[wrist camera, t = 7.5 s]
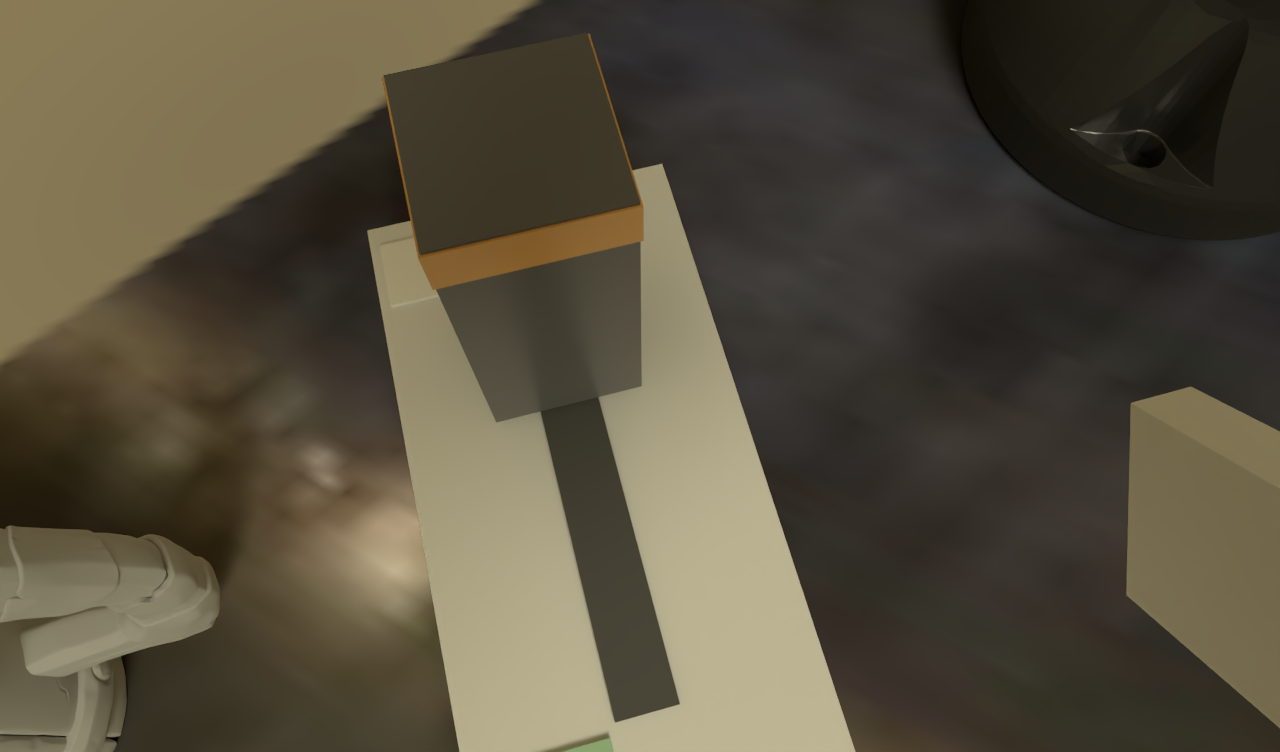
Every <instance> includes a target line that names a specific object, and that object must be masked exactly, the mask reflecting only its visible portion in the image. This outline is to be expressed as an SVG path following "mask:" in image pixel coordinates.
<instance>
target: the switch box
mask: <svg viewBox="0 0 1280 752" xmlns="http://www.w3.org/2000/svg"><path fill="white" fill-rule="evenodd" d="M632 171H633V174H634V177H635V181H636V184H637V187H638V190H639V193H640V197H641V200H642V203H643V206H644V241H641V366H642V386H641V387H637V388H633V389H629V390H625V391H621V392H617V393H613V394H609V395H605V396H601V397H597V398H593V399H588V400H584V401H580V402H576V403H572V404H568V405H564V406H560V407H556V408H552V409H548V410H544V411H540V412H536V413H532V414H528V415H524V416H520V417H516V418H512V419H508V420H504V421H500V422H496V421H495V419H494V416H493V414H492V412H491V410H490V407H489V405H488V403H487V401H486V399H485V396H484V394H483V392H482V390H481V388H480V385H479V383H478V381H477V379H476V377H475V374H474V372H473V370H472V368H471V366H470V363H469V361H468V359H467V357H466V355H465V352H464V350H463V348H462V346H461V344H460V341H459V339H458V337H457V335H456V333H455V330H454V328H453V326H452V324H451V322H450V319H449V317H448V315H447V313H446V311H445V308H444V306H443V304H442V302H441V300H440V297H439V295H438V293H437V291H436V290H432V288H431V285H430V283H429V281H428V279H427V277H426V275H425V272H424V270H423V268H422V266H421V264H420V262H419V259H418V256H417V251H416V246H415V241H414V236H413V231H412V225H411V221H407V222H403V223H398V224H394V225H390V226H385V227H381V228H376V229H372V230H368V231H367V232H368V238H369V244H370V249H371V255H372V261H373V266H374V272H375V277H376V283H377V289H378V294H379V300H380V306H381V311H382V317H383V323H384V328H385V334H386V339H387V345H388V351H389V356H390V362H391V368H392V373H393V379H394V385H395V390H396V396H397V402H398V407H399V413H400V418H401V424H402V430H403V435H404V441H405V447H406V452H407V458H408V464H409V469H410V475H411V481H412V486H413V492H414V497H415V503H416V509H417V514H418V520H419V526H420V531H421V537H422V543H423V548H424V554H425V560H426V565H427V571H428V576H429V582H430V588H431V593H432V599H433V605H434V610H435V616H436V622H437V627H438V633H439V638H440V644H441V650H442V655H443V661H444V667H445V672H446V678H447V684H448V689H449V695H450V701H451V706H452V712H453V717H454V723H455V729H456V734H457V740H458V746H459V751H460V752H855V749H854V746H853V743H852V740H851V737H850V734H849V731H848V728H847V725H846V722H845V719H844V716H843V713H842V710H841V707H840V704H839V701H838V698H837V694H836V691H835V688H834V685H833V682H832V679H831V676H830V673H829V670H828V667H827V664H826V661H825V658H824V655H823V652H822V649H821V646H820V643H819V640H818V637H817V634H816V631H815V628H814V624H813V621H812V618H811V615H810V612H809V609H808V606H807V603H806V600H805V597H804V594H803V591H802V588H801V585H800V582H799V579H798V576H797V573H796V570H795V567H794V564H793V561H792V557H791V554H790V551H789V548H788V545H787V542H786V539H785V536H784V533H783V530H782V527H781V524H780V521H779V518H778V515H777V512H776V509H775V506H774V503H773V500H772V497H771V494H770V491H769V487H768V484H767V481H766V478H765V475H764V472H763V469H762V466H761V463H760V460H759V457H758V454H757V451H756V448H755V445H754V442H753V439H752V436H751V433H750V430H749V427H748V424H747V421H746V417H745V414H744V411H743V408H742V405H741V402H740V399H739V396H738V393H737V390H736V387H735V384H734V381H733V378H732V375H731V372H730V369H729V366H728V363H727V360H726V357H725V354H724V350H723V347H722V344H721V341H720V338H719V335H718V332H717V329H716V326H715V323H714V320H713V317H712V314H711V311H710V308H709V305H708V302H707V299H706V296H705V293H704V290H703V287H702V284H701V280H700V277H699V274H698V271H697V268H696V265H695V262H694V259H693V256H692V253H691V250H690V247H689V244H688V241H687V238H686V235H685V232H684V229H683V226H682V223H681V220H680V217H679V214H678V210H677V207H676V204H675V201H674V198H673V195H672V192H671V189H670V186H669V183H668V180H667V177H666V174H665V171H664V168H663V165H662V164H659V165H654V166H650V167H646V168H641V169H637V170H632Z"/></svg>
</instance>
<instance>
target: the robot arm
mask: <svg viewBox="0 0 1280 752" xmlns="http://www.w3.org/2000/svg"><path fill="white" fill-rule="evenodd" d="M961 52H962V61H963V67H964V72H965V76H966V80H967V83H968V86H969V89H970V91H971V94H972V96H973V99H974V101H975V103H976V105H977V107H978V109H979V111H980V113H981V115H982V116H983V118H984V120H985V121H986V123H987V124H988V126H989V127H990V129H991V130H992V132H993V133H994V134H995V136H996V137H997V138H998V140H999V141H1000V142H1001V143H1002V145H1003V146H1004V147H1005V148H1006V149H1007V150H1008V151H1009V153H1010V154H1011V155H1012V156H1013V157H1014V158H1015V159H1016V160H1017V161H1018V162H1019V163H1020V164H1021V165H1022V166H1024V167H1025V168H1026V169H1027V170H1028V171H1029V172H1030V173H1032V174H1033V175H1034V176H1035V177H1036V178H1038V179H1039V180H1040V181H1042V182H1043V183H1044V184H1045V185H1047V186H1048V187H1050V188H1051V189H1053V190H1054V191H1056V192H1057V193H1059V194H1060V195H1062V196H1063V197H1065V198H1067V199H1068V200H1070V201H1072V202H1074V203H1075V204H1077V205H1079V206H1081V207H1083V208H1085V209H1087V210H1089V211H1091V212H1093V213H1095V214H1098V215H1100V216H1102V217H1104V218H1107V219H1109V220H1112V221H1115V222H1117V223H1120V224H1123V225H1126V226H1129V227H1132V228H1135V229H1139V230H1143V231H1147V232H1151V233H1155V234H1159V235H1165V236H1170V237H1177V238H1185V239H1196V240H1233V239H1244V238H1251V237H1258V236H1262V235H1267V234H1272V233H1275V232H1278V231H1280V0H969V1H968V4H967V7H966V10H965V14H964V18H963V24H962V32H961ZM1126 595H1127V596H1128V597H1129V598H1130V599H1132V600H1133V601H1134V602H1135V603H1136V604H1137V605H1138V606H1140V607H1141V608H1142V609H1143V610H1144V611H1145V612H1147V613H1148V614H1149V615H1150V616H1151V617H1152V618H1153V619H1155V620H1156V621H1157V622H1158V623H1159V624H1160V625H1162V626H1163V627H1164V628H1165V629H1166V630H1167V631H1168V632H1170V633H1171V634H1172V635H1173V636H1174V637H1175V638H1177V639H1178V640H1179V641H1180V642H1181V643H1182V644H1183V645H1185V646H1186V647H1187V648H1188V649H1189V650H1190V651H1191V652H1193V653H1194V654H1195V655H1196V656H1197V657H1198V658H1200V659H1201V660H1202V661H1203V662H1204V663H1205V664H1206V665H1208V666H1209V667H1210V668H1211V669H1212V670H1213V671H1215V672H1216V673H1217V674H1218V675H1219V676H1220V677H1221V678H1223V679H1224V680H1225V681H1226V682H1227V683H1228V684H1230V685H1231V686H1232V687H1233V688H1234V689H1235V690H1236V691H1238V692H1239V693H1240V694H1241V695H1242V696H1243V697H1244V698H1246V699H1247V700H1248V701H1249V702H1250V703H1251V704H1253V705H1254V706H1255V707H1256V708H1257V709H1258V710H1259V711H1261V712H1262V713H1263V714H1264V715H1265V716H1266V717H1268V718H1269V719H1270V720H1271V721H1272V722H1273V723H1274V724H1276V725H1277V726H1278V727H1279V728H1280V432H1279V431H1277V430H1275V429H1273V428H1271V427H1269V426H1267V425H1266V424H1264V423H1262V422H1260V421H1258V420H1256V419H1254V418H1252V417H1250V416H1248V415H1246V414H1244V413H1242V412H1240V411H1238V410H1236V409H1234V408H1232V407H1230V406H1228V405H1226V404H1224V403H1222V402H1220V401H1218V400H1216V399H1214V398H1212V397H1210V396H1208V395H1206V394H1204V393H1202V392H1200V391H1199V390H1197V389H1195V388H1193V387H1188V388H1184V389H1181V390H1177V391H1173V392H1170V393H1166V394H1162V395H1159V396H1155V397H1151V398H1148V399H1144V400H1140V401H1137V402H1133V403H1131V421H1130V464H1129V507H1128V550H1127V593H1126Z"/></svg>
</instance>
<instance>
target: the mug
mask: <svg viewBox="0 0 1280 752" xmlns="http://www.w3.org/2000/svg"><path fill="white" fill-rule="evenodd" d="M219 611H220V589H219V584H218V582H217V578H216V575H215V573H214V570H213V568H212V566H211V565H210V563H209V562H208V561H206V560H205V559H204V558H202V557H199V556H194V555H192V554H191V553H190V552H189V551H187V550H185V549H184V548H182V547H181V546H178V545H176V544H175V543H173V542H172V541H170V540H168V539H167V538H165V537H162V536H159V535H154V534H148V535H145V536H142V537H139V538H135V537H132V536H128V535H121V534H113V533H93V532H91V531H89V530H78V529H51V528H32V527H16V526H7V527H6V528H5V529H1V528H0V752H114V749H115V747H116V745H117V743H116V741H114V740H112V739H110V738H107V737H117V736H120V735H121V732H122V728H123V723H124V718H125V712H126V705H127V692H126V675H125V671H124V666H123V662H122V658H121V656H122V655H125V654H129V653H132V652H135V651H138V650H141V649H145V648H149V647H152V646H156V645H161V644H165V643H170V642H174V641H178V640H182V639H184V638H187V637H189V636H192V635H194V634H197V633H199V632H202V631H204V630H206V629H209V628H211V627H212V625H213V624H214V622H215V619H216V618H217V616H218V614H219Z"/></svg>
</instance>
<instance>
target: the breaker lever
mask: <svg viewBox="0 0 1280 752" xmlns="http://www.w3.org/2000/svg"><path fill="white" fill-rule="evenodd" d="M382 80H383V85H384V90H385V95H386V100H387V105H388V110H389V115H390V120H391V125H392V130H393V135H394V140H395V145H396V150H397V155H398V160H399V165H400V170H401V175H402V180H403V185H404V190H405V195H406V200H407V205H408V210H409V215H410V220H411V225H412V231H413V236H414V241H415V246H416V251H417V256H418V259H419V262H420V264H421V266H422V268H423V270H424V272H425V275H426V277H427V279H428V281H429V283H430V285H431V288H432V290H436V291H437V293H438V295H439V297H440V300H441V302H442V304H443V306H444V308H445V311H446V313H447V315H448V317H449V319H450V322H451V324H452V326H453V328H454V330H455V333H456V335H457V337H458V339H459V341H460V344H461V346H462V348H463V350H464V352H465V355H466V357H467V359H468V361H469V363H470V366H471V368H472V370H473V372H474V374H475V377H476V379H477V381H478V383H479V385H480V388H481V390H482V392H483V394H484V396H485V399H486V401H487V403H488V405H489V407H490V410H491V412H492V414H493V416H494V419H495V421H496V422H500V421H504V420H508V419H512V418H516V417H520V416H524V415H528V414H532V413H536V412H540V411H544V410H548V409H552V408H556V407H560V406H564V405H568V404H572V403H576V402H580V401H584V400H588V399H593V398H597V397H601V396H605V395H609V394H613V393H617V392H621V391H625V390H629V389H633V388H637V387H641V386H642V366H641V241H644V206H643V203H642V200H641V197H640V193H639V190H638V187H637V184H636V181H635V177H634V174H633V171H632V168H631V165H630V161H629V158H628V155H627V152H626V149H625V145H624V142H623V139H622V136H621V133H620V129H619V126H618V123H617V120H616V117H615V113H614V110H613V107H612V104H611V101H610V97H609V94H608V91H607V88H606V85H605V81H604V78H603V75H602V72H601V69H600V65H599V62H598V59H597V56H596V53H595V49H594V46H593V43H592V40H591V37H590V34H588V33H582V34H577V35H573V36H568V37H563V38H558V39H554V40H549V41H544V42H539V43H535V44H530V45H525V46H520V47H516V48H511V49H506V50H502V51H497V52H492V53H487V54H483V55H478V56H473V57H468V58H464V59H459V60H454V61H449V62H445V63H440V64H435V65H430V66H426V67H421V68H416V69H411V70H407V71H402V72H398V73H393V74H388V75H384V77H383V78H382Z"/></svg>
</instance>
